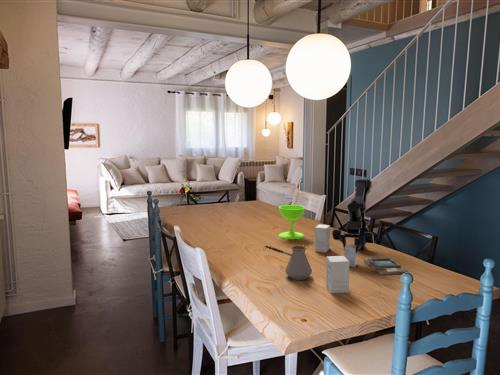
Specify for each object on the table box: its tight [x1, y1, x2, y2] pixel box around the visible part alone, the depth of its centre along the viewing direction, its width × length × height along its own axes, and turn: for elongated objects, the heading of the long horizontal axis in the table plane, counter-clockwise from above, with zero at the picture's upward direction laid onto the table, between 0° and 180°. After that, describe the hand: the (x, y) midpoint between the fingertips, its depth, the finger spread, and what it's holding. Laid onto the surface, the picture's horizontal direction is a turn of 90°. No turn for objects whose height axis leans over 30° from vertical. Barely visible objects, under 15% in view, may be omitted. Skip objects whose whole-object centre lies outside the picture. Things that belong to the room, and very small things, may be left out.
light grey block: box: [343, 243, 358, 268], centre depth 181 cm, size 5×5×9 cm
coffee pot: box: [263, 245, 313, 281], centre depth 164 cm, size 21×12×15 cm, turn 104°
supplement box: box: [325, 255, 350, 294], centre depth 151 cm, size 7×7×13 cm
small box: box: [314, 223, 331, 253], centre depth 206 cm, size 8×6×13 cm
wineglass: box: [278, 204, 306, 240], centre depth 235 cm, size 16×16×18 cm
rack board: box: [363, 257, 409, 276], centre depth 177 cm, size 18×13×2 cm
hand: (350, 251), depth 180 cm, fingers closed on light grey block, 5 cm apart
